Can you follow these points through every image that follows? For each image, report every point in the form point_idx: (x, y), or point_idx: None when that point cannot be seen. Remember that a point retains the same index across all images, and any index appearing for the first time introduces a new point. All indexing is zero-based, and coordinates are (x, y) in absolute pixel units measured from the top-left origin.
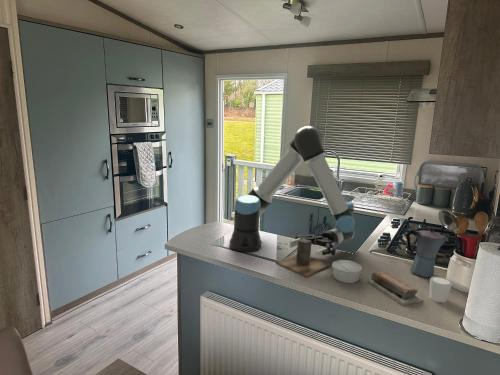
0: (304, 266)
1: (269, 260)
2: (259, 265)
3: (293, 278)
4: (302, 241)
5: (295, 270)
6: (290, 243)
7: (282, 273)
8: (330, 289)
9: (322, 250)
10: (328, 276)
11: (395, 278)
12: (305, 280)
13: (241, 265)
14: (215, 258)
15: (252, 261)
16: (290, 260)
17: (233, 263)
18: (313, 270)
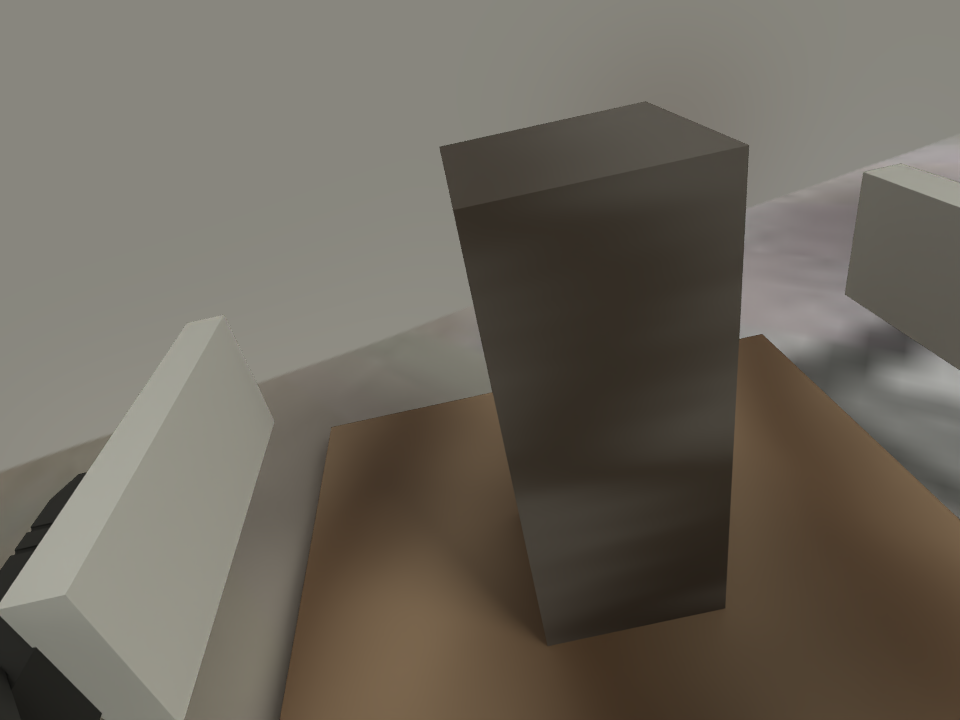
0: (503, 513)
1: (864, 331)
2: (747, 264)
3: (406, 361)
4: (550, 127)
5: (481, 396)
6: (875, 211)
7: None
8: (51, 491)
9: (129, 434)
10: None
11: None
12: (311, 412)
13: (776, 206)
14: (934, 144)
15: (851, 246)
16: (768, 459)
17: (824, 186)
18: (342, 544)
